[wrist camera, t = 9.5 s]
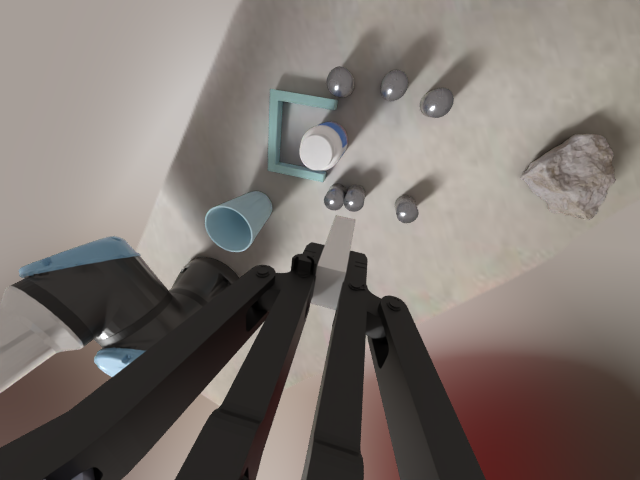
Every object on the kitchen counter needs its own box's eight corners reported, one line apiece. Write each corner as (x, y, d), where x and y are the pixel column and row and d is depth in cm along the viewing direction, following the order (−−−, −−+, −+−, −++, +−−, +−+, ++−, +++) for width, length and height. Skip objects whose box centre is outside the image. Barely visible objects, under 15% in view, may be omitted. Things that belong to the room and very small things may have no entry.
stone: (585, 120, 28) (630, 123, 23) (606, 185, 31) (650, 201, 26) (510, 161, 32) (535, 171, 27) (535, 216, 35) (562, 235, 30)
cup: (244, 224, 46) (213, 251, 37) (234, 185, 43) (197, 206, 34) (281, 224, 45) (257, 253, 36) (273, 184, 41) (244, 205, 32)
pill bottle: (315, 118, 34) (296, 121, 26) (351, 125, 34) (343, 131, 26) (310, 156, 37) (291, 170, 29) (343, 163, 37) (333, 180, 28)
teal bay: (272, 167, 40) (267, 170, 38) (275, 89, 34) (269, 88, 32) (325, 178, 39) (322, 182, 37) (337, 100, 33) (335, 99, 31)
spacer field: (316, 196, 40) (310, 205, 37) (335, 64, 31) (329, 59, 27) (409, 217, 39) (413, 228, 35) (460, 83, 29) (471, 80, 26)
